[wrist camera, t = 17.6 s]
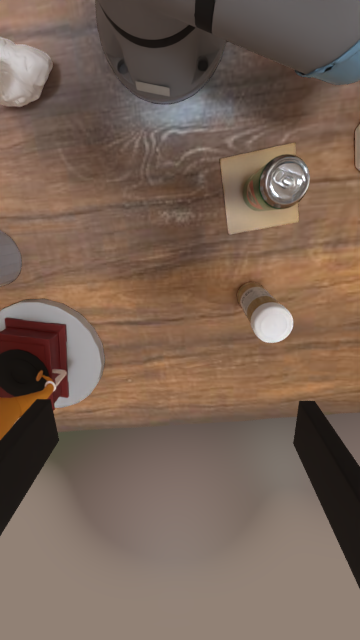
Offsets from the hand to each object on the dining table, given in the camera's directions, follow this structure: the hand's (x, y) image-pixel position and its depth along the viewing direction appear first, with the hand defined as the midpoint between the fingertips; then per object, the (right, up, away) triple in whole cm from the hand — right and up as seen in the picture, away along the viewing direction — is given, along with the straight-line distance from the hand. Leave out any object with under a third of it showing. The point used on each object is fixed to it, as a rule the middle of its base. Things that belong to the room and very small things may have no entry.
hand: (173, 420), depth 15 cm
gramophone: (-23, -1, +35) cm, 42 cm away
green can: (+12, +23, +24) cm, 35 cm away
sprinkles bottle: (+12, +9, +29) cm, 33 cm away
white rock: (-21, +36, +21) cm, 47 cm away
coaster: (+12, +23, +24) cm, 36 cm away
